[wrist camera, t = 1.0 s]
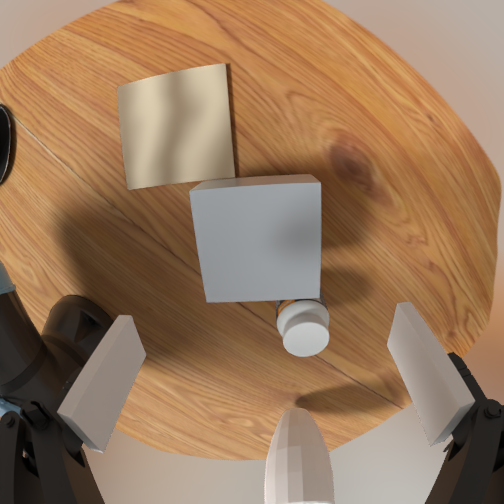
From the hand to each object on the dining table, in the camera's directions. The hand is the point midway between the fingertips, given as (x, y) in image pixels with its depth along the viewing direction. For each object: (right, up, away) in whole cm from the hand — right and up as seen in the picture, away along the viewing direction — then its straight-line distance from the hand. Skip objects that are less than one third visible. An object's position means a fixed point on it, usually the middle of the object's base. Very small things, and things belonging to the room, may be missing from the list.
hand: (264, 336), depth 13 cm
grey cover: (0, +6, +14) cm, 16 cm away
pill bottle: (+5, -1, +23) cm, 23 cm away
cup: (+7, -23, +32) cm, 40 cm away
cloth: (-9, +18, +15) cm, 25 cm away
